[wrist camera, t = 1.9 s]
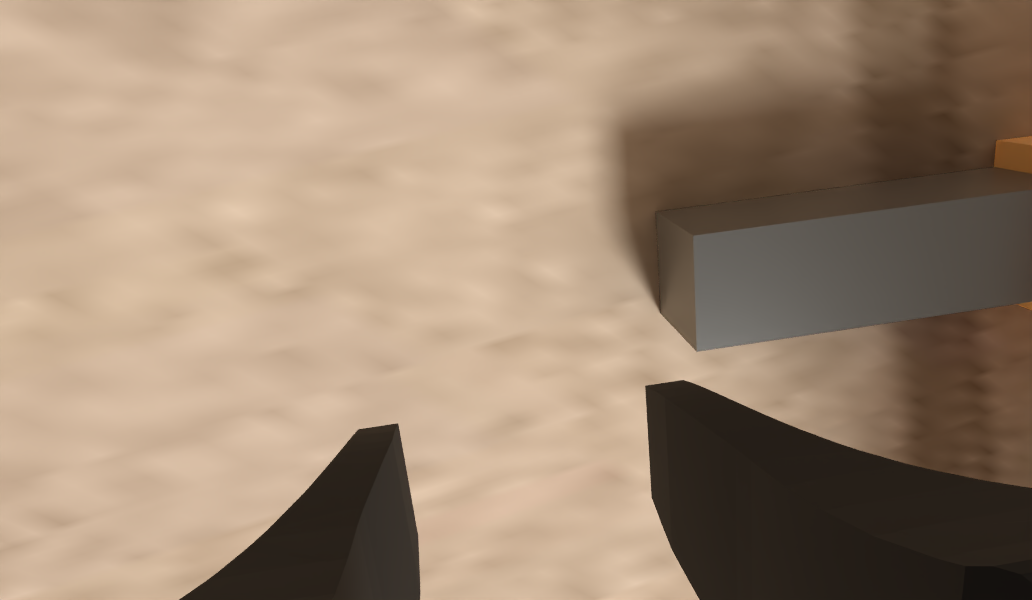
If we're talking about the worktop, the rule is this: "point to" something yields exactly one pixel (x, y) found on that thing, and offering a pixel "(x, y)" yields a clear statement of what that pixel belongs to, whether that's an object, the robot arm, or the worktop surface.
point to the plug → (849, 254)
